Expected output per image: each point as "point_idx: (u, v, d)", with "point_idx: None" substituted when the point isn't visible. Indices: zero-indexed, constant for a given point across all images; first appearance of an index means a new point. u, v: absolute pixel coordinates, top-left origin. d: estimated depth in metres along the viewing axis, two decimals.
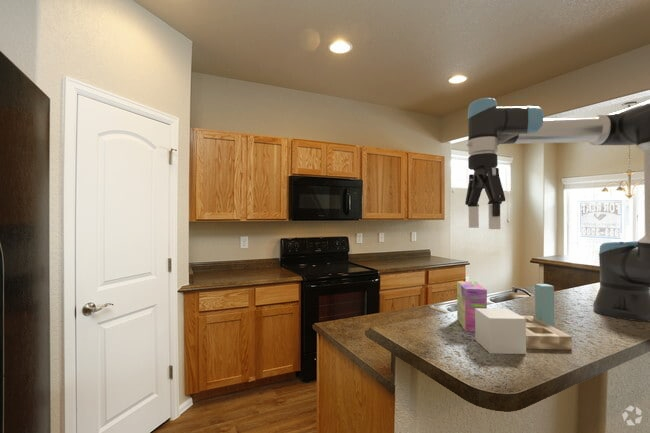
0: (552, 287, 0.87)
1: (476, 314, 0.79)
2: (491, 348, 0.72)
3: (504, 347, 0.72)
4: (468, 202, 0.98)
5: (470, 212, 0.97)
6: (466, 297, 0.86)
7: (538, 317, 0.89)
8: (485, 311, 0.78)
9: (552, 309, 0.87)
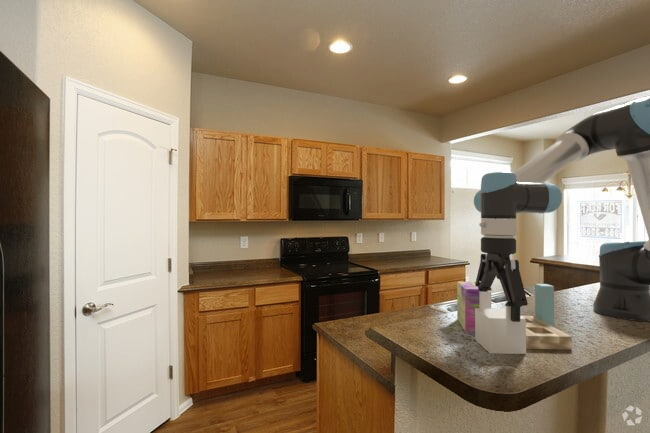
0: (552, 287, 0.87)
1: (476, 314, 0.79)
2: (491, 348, 0.72)
3: (504, 347, 0.72)
4: (479, 285, 0.84)
5: (481, 298, 0.82)
6: (466, 297, 0.86)
7: (538, 317, 0.89)
8: (485, 311, 0.78)
9: (552, 309, 0.87)
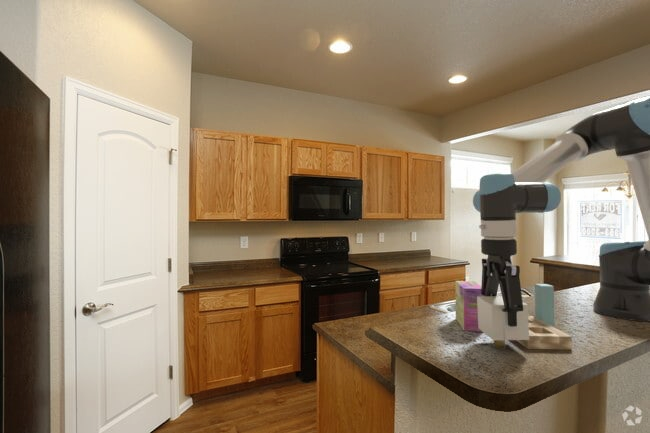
0: (552, 287, 0.87)
1: (479, 302, 0.79)
2: (494, 335, 0.72)
3: None
4: (485, 294, 0.81)
5: None
6: (465, 296, 0.87)
7: (538, 317, 0.89)
8: (487, 299, 0.78)
9: (552, 309, 0.87)
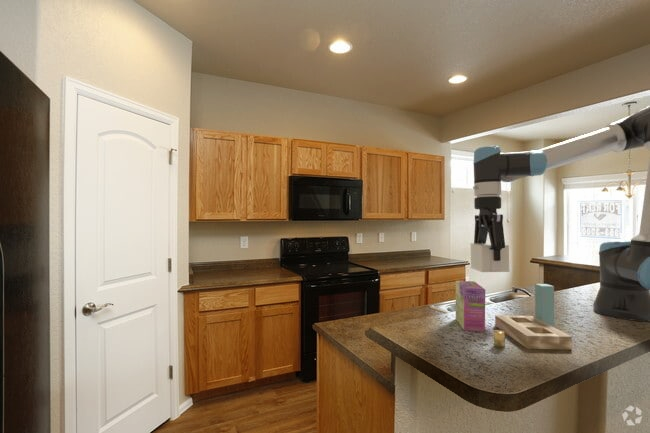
0: (552, 287, 0.87)
1: (472, 247, 1.02)
2: (483, 268, 0.95)
3: None
4: (477, 242, 1.04)
5: None
6: (465, 296, 0.87)
7: (538, 317, 0.89)
8: (478, 244, 1.00)
9: (552, 309, 0.87)
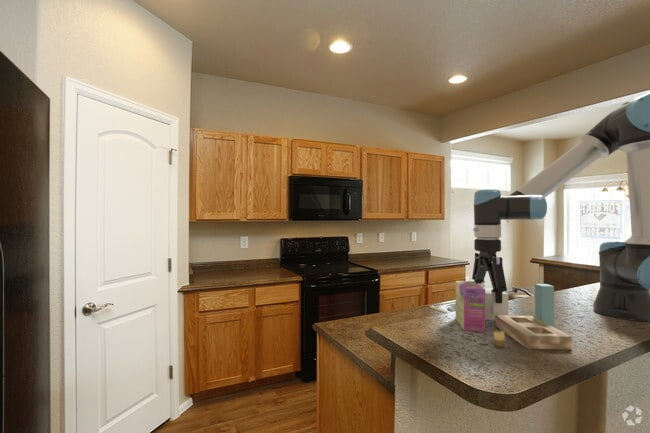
0: (552, 287, 0.87)
1: None
2: None
3: (492, 315, 0.96)
4: (475, 278, 1.06)
5: None
6: (465, 296, 0.87)
7: (538, 317, 0.89)
8: None
9: (552, 309, 0.87)
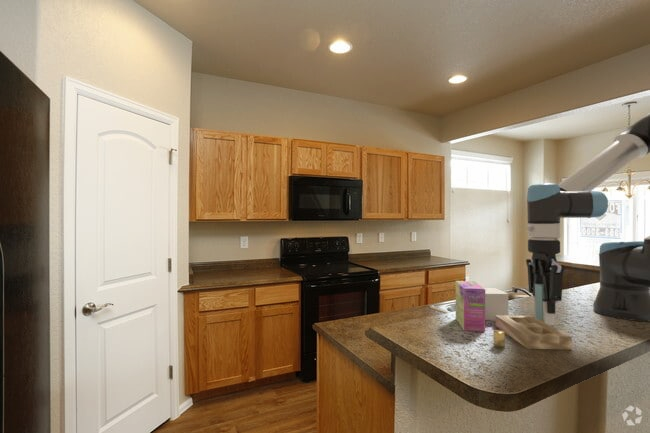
0: None
1: None
2: None
3: (492, 315, 0.96)
4: (533, 291, 0.92)
5: None
6: (465, 296, 0.87)
7: (538, 317, 0.89)
8: None
9: None
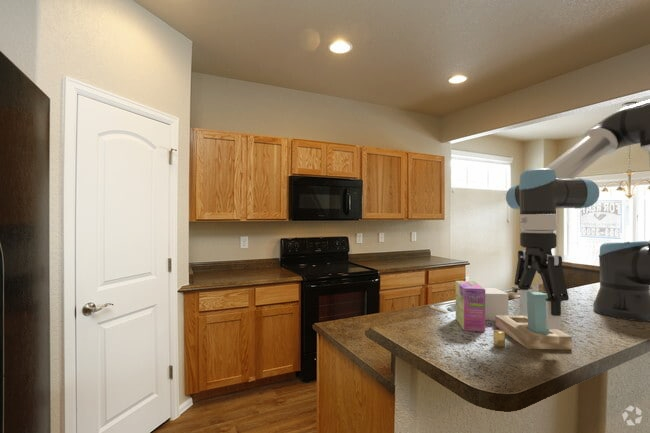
0: (546, 296, 0.77)
1: None
2: None
3: (492, 315, 0.96)
4: (519, 284, 0.85)
5: (522, 296, 0.84)
6: (465, 296, 0.87)
7: (531, 330, 0.79)
8: None
9: None
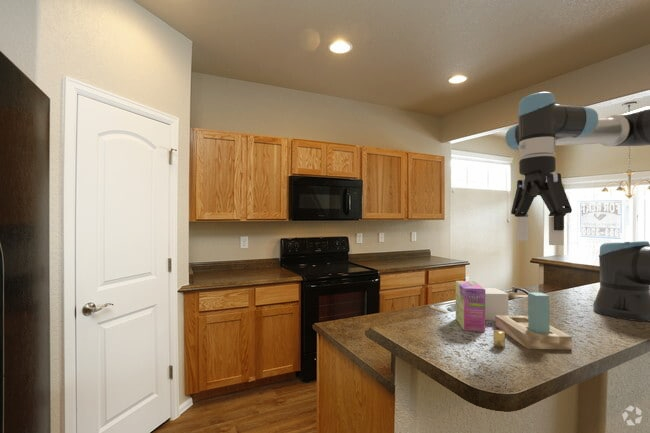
0: (547, 297, 0.77)
1: None
2: None
3: (492, 315, 0.96)
4: (516, 211, 0.86)
5: (518, 223, 0.85)
6: (465, 296, 0.87)
7: (531, 330, 0.79)
8: None
9: (547, 322, 0.77)
